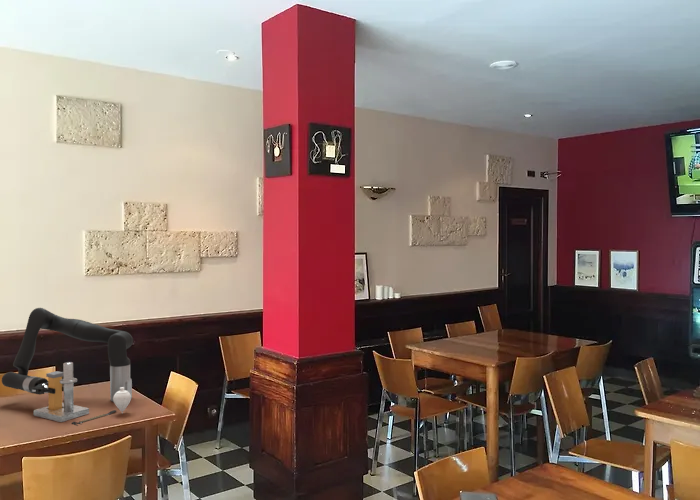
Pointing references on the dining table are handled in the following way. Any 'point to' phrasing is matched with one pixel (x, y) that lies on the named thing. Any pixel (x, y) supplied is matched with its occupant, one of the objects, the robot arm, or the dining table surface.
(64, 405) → the grey peg stand
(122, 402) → the spinning top
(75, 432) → the dining table surface
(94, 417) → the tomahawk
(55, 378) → the yellow lidded box
